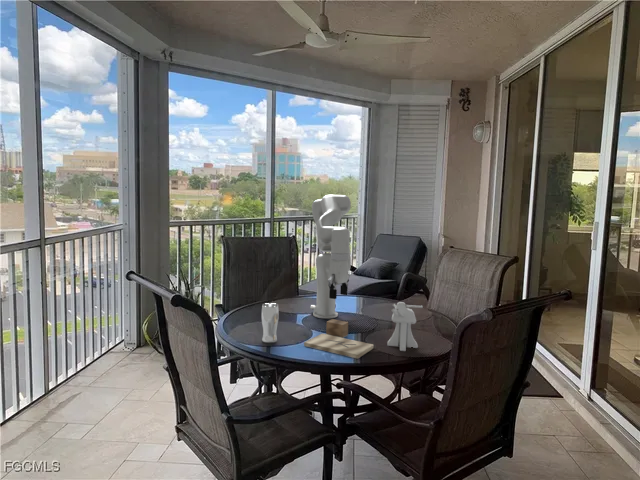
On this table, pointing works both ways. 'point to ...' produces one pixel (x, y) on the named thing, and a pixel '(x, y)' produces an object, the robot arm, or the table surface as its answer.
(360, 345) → the board
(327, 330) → the block
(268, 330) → the beer glass
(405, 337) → the toy gun turret
